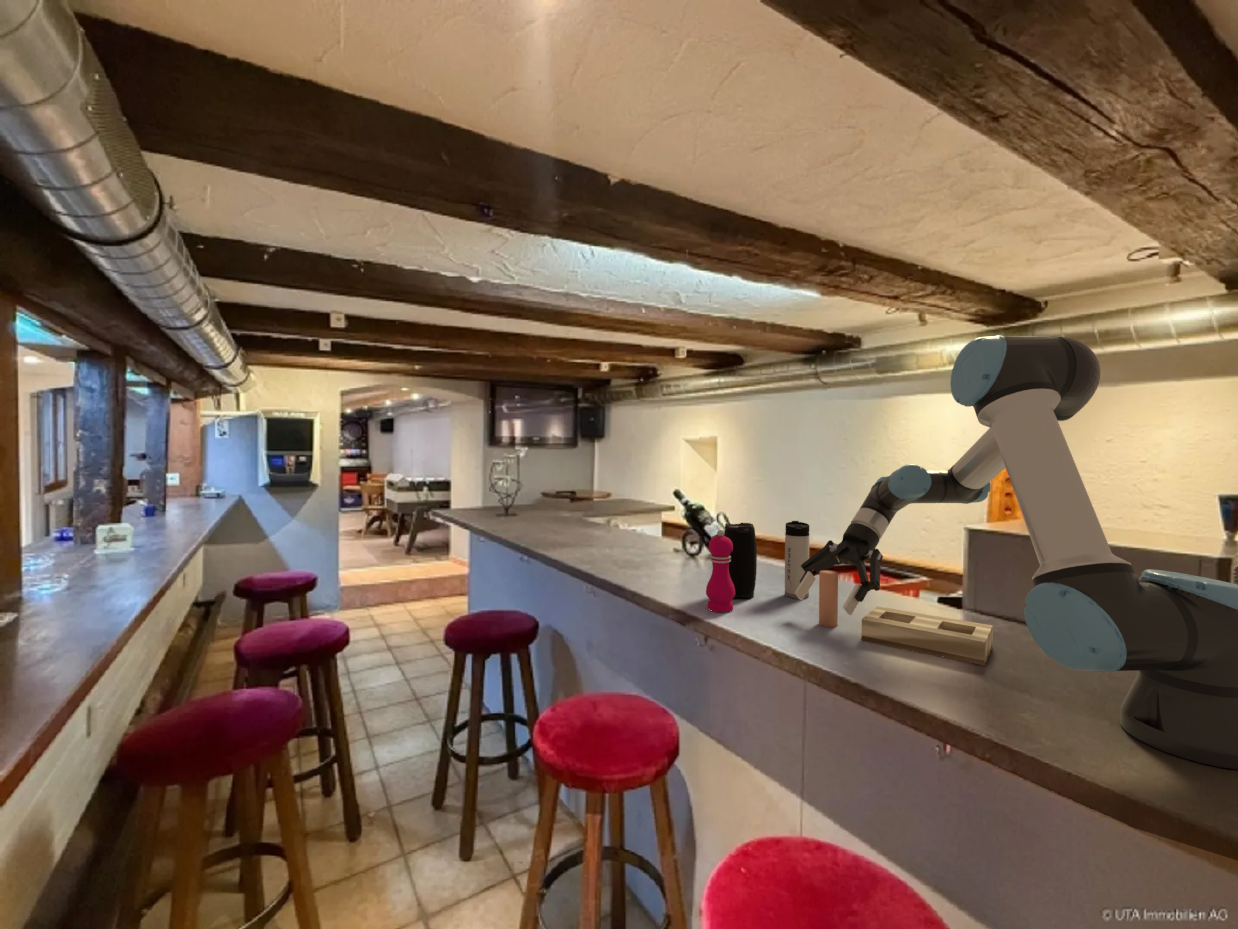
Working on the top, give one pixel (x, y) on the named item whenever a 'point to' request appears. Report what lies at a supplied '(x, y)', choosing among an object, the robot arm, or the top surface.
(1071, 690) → the top surface
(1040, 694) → the top surface
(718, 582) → the pepper mill
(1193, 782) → the top surface
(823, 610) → the pin
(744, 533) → the portable speaker
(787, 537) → the travel mug
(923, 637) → the socket block
